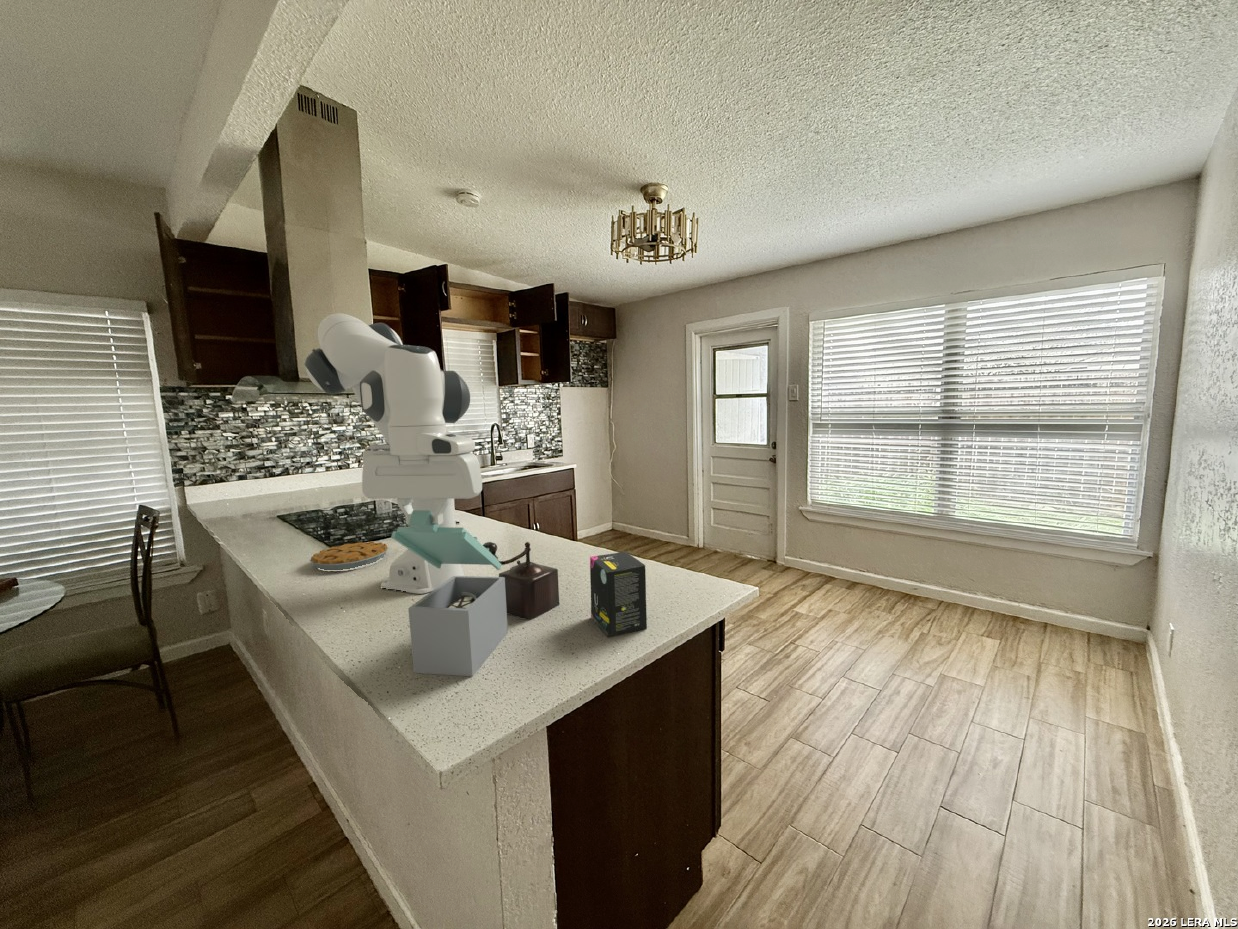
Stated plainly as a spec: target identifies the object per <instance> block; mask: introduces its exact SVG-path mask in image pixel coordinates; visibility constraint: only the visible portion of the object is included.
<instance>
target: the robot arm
mask: <svg viewBox="0 0 1238 929" xmlns="http://www.w3.org/2000/svg"><path fill="white" fill-rule="evenodd" d="M317 328H318V329H317V339H318V343H319V345H320V347H319V348H316V349H315V348H312V352H311V353H310V354H309V355H308V356H307V357H306V358H305V362H304V366H305V370H306V373H307V376H308V378H309V379H310V381H311V382H312V384H313V385H314V386H315V387H317V388H318V389H320V390H321V391H323V392H325V394H328V395H338V394H341V393H344V392H346V390H347V389H348V390H349V389H352V391H353V393H354V395H355V397H356V399H357V401H358V402H359V404H360V406H361V409H362V412H363V413H364V414H365V415H367V417H369V419H370V420H371V421H372V423H373V424H374V425H375V427H376V429H377V430H378V431H379V432H380V434H381V435H382V436H383V438H384V439H385V441H386V442H387V443H381V444H379V443H371V444H369V446H367V447H366V448H365V449H364V450H363V451H362V462H363V464H362V465H363V466H362V472H361V474H362V475H361V476H362V477H361V491H362V494H364V496H365V497H366V498H367V499H370V500H371V499H374V500H375V499H379V500H381V499H382V500H383V499H386V500H387V499H391V500H393V499H396V501H397V506H398V508H399V509H400V510H401V512H402V514H404V517H405V524H406V525H410V524H409V521H410V518H411V515H412V511H413V510H429V511H431V512H432V513H433V514H430V524H431V525H439V527H456V528H457V525H456V510H455V500H457V499H461V500H462V499H467V500H469V499H473V498H476V497H478V496H480V494H481V492H482V491H483V478H482V470H481V465H480V462H479V459H478V457H477V456H476V454H474V453H472V452H473V451H475V450H476V443H475V440H474V439H473V438H470V437H466V436H463V435H459V434H457V433H454V432H450V431H448V430H447V428H446V424H455V423H456V422H458V421H459V420H461V418H462V417H463V416H465V413H467V411H468V409H469V407H470V405H471V394H470V389H469V386H468V384H467V383H466V381H465V380H464V379H463V378H462V376H461V375H460V374H458V373H457V372H456V371H455V370H443V369H441V367H440V363H439V358H438V356H437V353H436V351H435V350H433V349H431V348H430V347H427V346H421V345H418V346H417V345H412V344H411V345H410V344H403V341H402V340H401V337H400V336H399V335H398V333H397V332H396V331H395V330H394V329H392V328H391V327H390V326H389V325H388V324H386V323H384V322H375V323H371V324H367V323H366V322H365V321H363V320H361V319H359V318H358V317H355V316H353V315H350V314H346V313H341V312H340V313H332V314H329V315H328V316H326V317H324V318H323V319H322V321H320V323H319V325H318V327H317ZM453 576H466V575H465V572H464V569H463V565H462V564H441V568H436V567H435V566H433V565H432V564H430V563H429V562H427V561H426V560H424V559H423V558H421V557H420V556H418V555H417V554H415V553H414V552H412V551H411V550H409V549H408V548H407V549H406V550H405V551H404V552H403V553H402V554H400V555H399V556H398V557H397V558H395V560H393V562H392V563H391V565H390V566H389V574H388V577H387V578H385V579H384V580H383V581H382V582H381V583H380V588H381V587H382V588H386V589H385V590H388V589H397V590H401V591H400V592H403V591H406V592H405V593H411V594H419V595H422V594H428V593H430V592H432V591H433V590H435V589H436V588H437V587H439V586H440V585H442V584H443V583H444V582H446V581H447V580H449V579H450V578H451V577H453ZM382 588H381V589H382Z"/></svg>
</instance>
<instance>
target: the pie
mask: <svg viewBox="0 0 1238 929" xmlns="http://www.w3.org/2000/svg"><path fill="white" fill-rule="evenodd" d="M388 550H389V547H388V546H387V544H386V543H383V542H375V541H371V540H370V541H368V542H364V541H363V542H355V543H344V544H343V545H339V546H330V548H328V549H322V550H319V552H317V553H314V554H313V556H311V557H310V559H309V562H310V563H312V564H313V565H314V566H316V567H317V568H320V569H324V570H343V569H350V568H355V567H358V566H362V565H366V564H370V563H373V562H376V561H377V560H379V559H380V558H383V557H384V558H385V556H386V553H387V552H388ZM384 555H385V556H384ZM384 558H383V559H384ZM316 567H315V568H316ZM317 568H316V569H317Z"/></svg>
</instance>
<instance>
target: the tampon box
mask: <svg viewBox="0 0 1238 929" xmlns="http://www.w3.org/2000/svg"><path fill="white" fill-rule="evenodd" d="M589 569H590V570H589V576H590V577H589V578H590V617H591V619H592V620H593V621H594V623H596V625H597V626H598V627H599V628H600V630H601V631H602V632H603V634H605V636H606V637H607V638H611V637H615V636H618V635H624V634H628V633H633V632H637V631H640V630H641V631H643V630H646V629H648V625H647V624H648V620H647V582H646V579H647V576H646V564H644V563H643V562H641V561H640V560H638V559H637V558H636V557H634V556H632V554H630V553H628V552H627V551H621V552H613V553H606V554H601V555H593V556H590V557H589Z"/></svg>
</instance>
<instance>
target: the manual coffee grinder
mask: <svg viewBox="0 0 1238 929" xmlns="http://www.w3.org/2000/svg"><path fill="white" fill-rule="evenodd" d="M482 545H483V546H484V547H485V548H489V552H490V553H492V554H493V555H494V556H495V557H496V558H497V559H498V560H499V557H498V556H497V551H498V546H497V544H496V543H495V542H492V541H487V542H485V543H483V544H482ZM524 546H525V547H524V550H523V551H522V552H520V553H519V554H517V555H516V556H514V557H512V558H510V559H507V560H502V561H500V560H499V562H500V563H501V566H504V565H509V564H511V563H514V562H516V565H513V566H512V567H510V568H509V569H507V570H505V571H502V572H499V573H498V577H505V592H506V610H507V615H510V616H513V617H517V618H518V619H522V620H526V621H531V620H534V619H537V618H538V617H540V616H542V615H544V614H546V613H547V612H549V611H551V610H553V609H554V608H556V607H558V606H559V605H560V592H559V591H560V590H559V588H560V587H559V570H558V568H554V567H552V566H547V565H544V564H539V563H536V562H533V561H531V557H530V554H531V553H530V552H531V551H532V549H531V547H530V546H531V543H530V542H529V541H526V542H524ZM524 556H525V561H524V562H521V560H520V559H522V558H523V557H524Z"/></svg>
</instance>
